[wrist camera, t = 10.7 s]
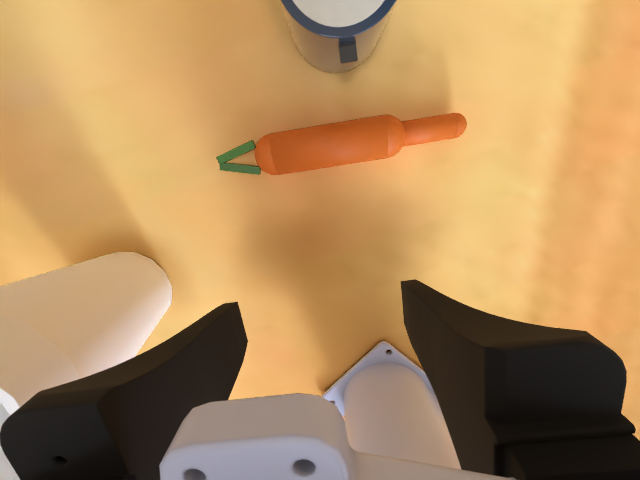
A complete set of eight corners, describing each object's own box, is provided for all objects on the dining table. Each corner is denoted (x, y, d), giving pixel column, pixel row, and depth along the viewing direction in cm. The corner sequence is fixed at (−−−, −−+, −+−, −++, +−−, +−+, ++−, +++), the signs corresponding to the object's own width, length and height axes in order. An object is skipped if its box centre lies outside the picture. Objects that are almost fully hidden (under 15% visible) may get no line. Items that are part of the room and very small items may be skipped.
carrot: (230, 181, 21) (218, 185, 19) (221, 143, 21) (207, 142, 18) (459, 145, 20) (477, 145, 18) (458, 103, 19) (477, 97, 17)
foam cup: (146, 211, 22) (-88, 295, 10) (214, 311, 24) (95, 481, 12) (49, 264, 24) (-259, 394, 11) (122, 353, 26) (-67, 542, 14)
